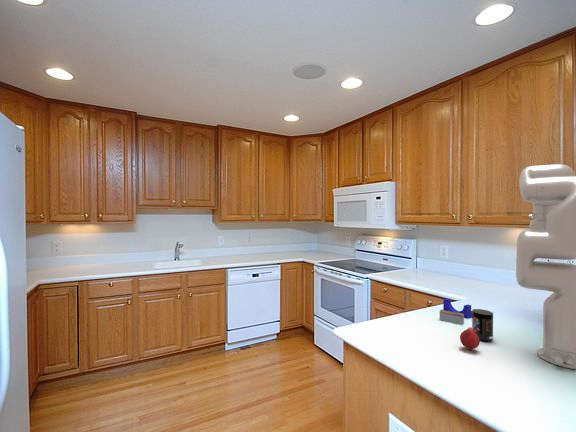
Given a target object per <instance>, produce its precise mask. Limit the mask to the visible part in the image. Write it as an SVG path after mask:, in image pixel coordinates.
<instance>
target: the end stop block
mask: <svg viewBox="0 0 576 432" xmlns="http://www.w3.org/2000/svg"><path fill="white" fill-rule="evenodd" d="M439 321H442V322H446V323H447V322H448V323H452V324H456V325H461V326H464V324H465V318H464V314H461V313H456V312H451V311H446V310H443V309H440V310H439Z"/></svg>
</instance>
